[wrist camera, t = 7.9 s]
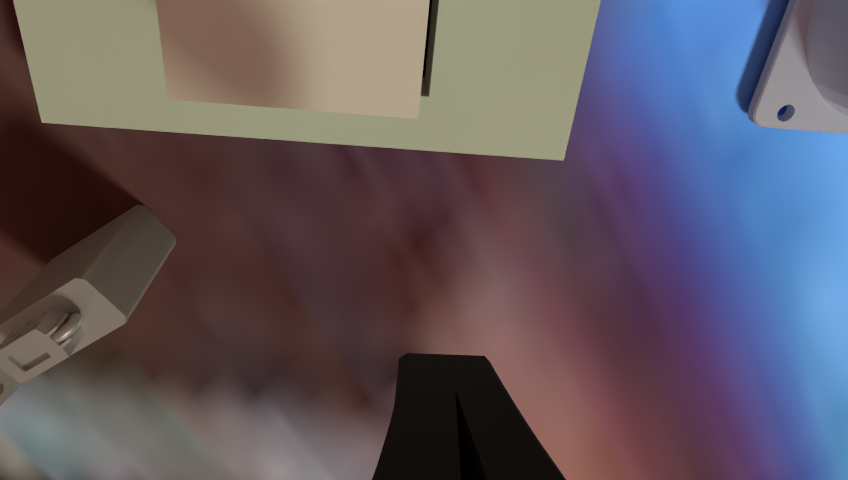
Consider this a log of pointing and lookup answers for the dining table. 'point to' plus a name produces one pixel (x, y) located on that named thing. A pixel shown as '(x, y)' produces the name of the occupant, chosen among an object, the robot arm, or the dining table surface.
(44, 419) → the dining table surface
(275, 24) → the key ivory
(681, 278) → the dining table surface
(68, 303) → the lighter
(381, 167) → the dining table surface
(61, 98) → the panel
